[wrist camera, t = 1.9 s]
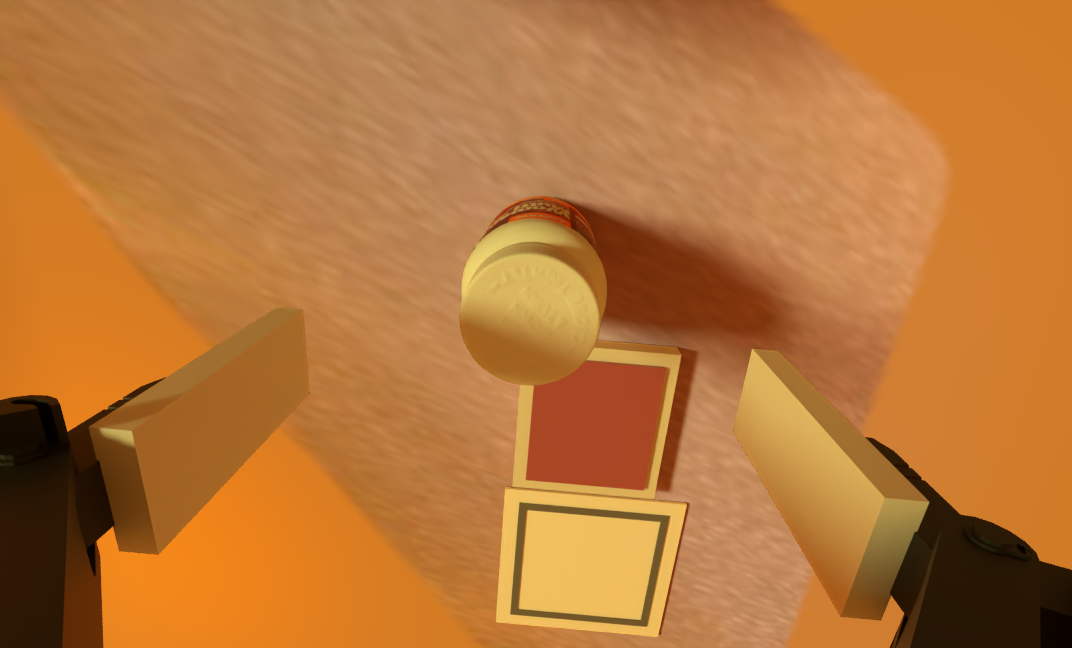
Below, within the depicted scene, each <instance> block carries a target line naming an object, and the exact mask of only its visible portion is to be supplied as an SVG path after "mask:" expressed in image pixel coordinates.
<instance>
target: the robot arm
mask: <svg viewBox="0 0 1072 648" xmlns="http://www.w3.org/2000/svg"><path fill="white" fill-rule="evenodd" d="M309 394H310V392H309V379H308V366H307V353H306V341H305V328H304V315H303V310H302V309H291V308H279V307H277V308H275V309H274V310H272V311H270V312H269V313H267V314H266V315H264V316H263V317H261V318H259V319H258V320H256V321H255V322H253V323H252V324H250V325H248V326H247V327H245V328H244V329H242V330H240V331H239V332H237V333H236V334H234V335H233V336H231V337H229V338H228V339H226V340H225V341H223V342H222V343H220V344H218V345H217V346H215V347H214V348H212V349H211V350H209V351H207V352H206V353H204V354H203V355H201V356H200V357H198V358H196V359H195V360H193V361H192V362H190V363H189V364H187V365H185V366H184V367H182V368H181V369H179V370H177V371H176V372H174V373H173V374H171V375H170V376H168V377H165V378H163V379H160V380H157V381H154V382H152V383H149V384H146V385H144V386H141V387H140V388H138V389H136V390H135V391H133V392H132V393H130V394H129V395H127V396H125V397H123V400H119V401H117V402H115V403H114V404H112V405H110V406H109V407H108V409H107V410H102V411H101V412H99V413H98V414H96V415H94V416H93V417H91V418H89V419H88V420H86V421H85V422H83V423H81V424H80V425H78V426H77V427H75V428H73V429H72V430H70V431H68V432H67V429H66V425H65V421H64V418H63V414H62V410H61V406H60V404H59V402H58V400H57V399H56V398H53V397H50V396H42V395H29V396H20V397H12V398H8V399H4V400H0V648H103V626H102V598H101V597H102V596H101V570H100V569H101V567H100V554H99V550H98V547H97V543H96V541H97V540H98V539H99V538H100V537H101V536H102V535H104V534H105V533H106V532H107V531H108V530H109V529H110V528H111V527H113V528H114V532H115V536H116V540H117V544H118V548H119V551H124V552H136V553H146V554H157V555H158V554H159V553H160V552H161V551H162V550H163V549H164V548H165V547H166V546H167V545H168V544H169V543H170V542H171V541H172V540H173V539H174V538H175V537H176V535H177V534H178V533H179V532H180V531H181V530H182V529H183V528H184V527H185V526H186V525H187V524H188V523H189V522H190V521H191V519H192V518H193V517H194V516H195V515H196V514H197V513H198V512H199V511H200V510H201V509H202V508H203V507H204V506H205V504H206V503H207V502H208V501H209V500H210V499H211V498H212V497H213V496H214V495H215V494H216V493H217V491H219V490H220V488H221V487H222V486H223V485H224V484H225V483H226V482H227V481H228V480H229V479H230V478H231V477H232V476H233V475H234V473H236V471H237V470H238V469H239V468H240V467H241V466H242V465H243V464H244V463H245V462H246V461H247V460H248V459H249V458H250V457H251V455H252V454H253V453H254V452H255V451H256V450H257V449H258V448H259V447H260V446H261V445H262V444H263V443H264V442H265V440H266V439H267V438H268V437H269V436H270V435H271V434H272V433H273V432H274V431H275V430H276V429H277V428H278V427H279V426H280V425H281V424H282V422H283V421H284V420H285V419H286V418H287V417H288V416H289V415H290V414H291V413H292V412H293V411H294V410H295V409H296V408H297V406H298V405H299V404H300V403H301V402H302V401H303V400H304V399H305V398H306V397H307V396H308V395H309ZM733 432H734V434H735V436H736V437H737V439H738V441H739V443H740V444H741V446H742V448H743V449H744V451H745V453H746V455H747V456H748V458H749V460H750V462H751V463H752V465H753V467H754V468H755V470H756V472H757V474H758V475H759V477H760V479H761V480H762V482H763V484H764V486H765V487H766V489H767V491H768V493H769V494H770V496H771V498H772V499H773V501H774V503H775V505H776V506H777V508H778V510H779V511H780V513H781V515H782V517H783V518H784V520H785V522H786V524H787V525H788V527H789V529H790V530H791V532H792V534H793V536H794V537H795V539H796V541H797V542H798V544H799V546H800V548H801V549H802V551H803V553H804V555H805V556H806V558H807V560H808V561H809V563H810V565H811V567H812V568H813V570H814V572H815V573H816V575H817V577H818V578H819V580H820V582H821V584H822V586H823V587H824V589H825V591H826V592H827V594H828V596H829V598H830V599H831V601H832V603H833V604H834V606H835V608H836V609H837V611H838V613H839V615H840V616H841V617H849V618H860V619H872V620H881V619H882V617H883V614H884V612H885V609H886V607H887V604H888V602H889V599H890V597H891V595H892V597H893V598H894V600H895V601H896V602H897V604H898V605H899V607H900V608H901V609H902V611H903V612H904V616H903V618H902V621H901V623H900V626H899V628H898V630H897V632H896V634H895V637H894V639H893V642H892V644H891V646H890V648H1072V570H1070V569H1066V568H1063V567H1059V566H1055V565H1052V564H1049V563H1045V562H1042V561H1039V558H1038V556H1037V553H1036V552H1035V551H1034V550H1033V549H1032V548H1031V547H1030V546H1029V545H1028V544H1027V543H1026V542H1025V541H1023V540H1022V539H1020V538H1019V537H1017V536H1016V535H1014V534H1013V533H1012V532H1010V531H1008V530H1006V529H1004V528H1002V527H1000V526H998V525H995V524H994V523H991V522H988V521H985V520H982V519H979V518H976V517H972V516H965V515H960V514H959V513H958V512H957V511H956V510H955V509H954V508H953V507H952V506H951V505H950V504H949V503H948V502H947V501H946V500H944V499H943V498H942V497H941V496H940V495H939V494H938V493H937V492H936V491H935V490H934V489H933V488H932V487H931V486H930V485H929V484H928V483H926V481H924V480H921V477H920V476H919V475H918V474H917V473H916V472H915V471H914V470H913V469H912V468H909V466H908V464H907V463H906V462H905V461H904V460H903V459H902V458H901V457H899V456H898V455H897V454H896V453H895V452H894V451H893V450H891V449H890V448H888V447H886V446H885V445H883V444H881V443H879V442H878V441H876V440H875V439H873V438H867V437H864V436H863V435H862V434H861V433H860V432H859V431H858V430H857V429H856V428H855V427H854V426H853V425H852V424H851V423H850V422H849V421H848V420H847V419H846V418H845V417H844V416H843V415H842V414H841V413H840V412H839V411H838V410H837V409H836V408H835V407H834V406H833V405H832V404H831V403H830V402H829V401H828V400H827V399H826V398H825V397H824V396H823V395H822V394H821V393H820V392H819V391H818V390H817V389H816V388H815V387H814V386H813V385H812V384H811V383H810V382H809V381H808V380H807V379H806V378H805V377H804V376H803V375H802V374H801V373H800V372H799V371H798V370H797V369H796V368H795V367H794V366H793V365H792V364H791V363H790V362H789V361H788V360H787V359H786V358H785V357H784V356H783V355H782V354H781V353H780V352H779V351H775V350H763V349H752V352H751V356H750V360H749V364H748V369H747V373H746V377H745V381H744V385H743V390H742V394H741V398H740V402H739V406H738V410H737V415H736V419H735V423H734V427H733Z"/></svg>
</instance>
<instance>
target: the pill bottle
mask: <svg viewBox="0 0 1072 648" xmlns="http://www.w3.org/2000/svg"><path fill="white" fill-rule="evenodd" d="M606 301H607V278H606V275H605V271H604V267H603V264H602V261H601V258H600V255H599V251H598V248H597V244H596V241H595V238H594V235H593V232H592V230H591V228H590V226H589V224H588V223H587V221H586V219H585V218H584V217H583V216H582V215H581V213H580V212H579V211H577V210H576V209H575V208H574V207H572V206H571V205H569V204H568V203H566V202H564V201H562V200H559V199H556V198H552V197H547V196H534V197H527V198H524V199H521V200H518V201H516V202H514V203H512V204H511V205H509V206H507V207H506V208H505V209H504V210H502V211H501V212H500V213H499V214H498V216H497V217H496V218H495V219H494V221H493V222H492V223H491V225H490V226H489V228H488V229H487V231H486V232H485V234H484V235H483V237H482V238H481V240H480V241H479V243H478V244H477V245H476V247H475V248H474V249H473V251H472V253H471V255H470V257H469V259H468V261H467V264H466V266H465V269H464V273H463V278H462V302H461V306H460V316H459V317H460V328H461V333H462V337H463V340H464V343H465V345H466V347H467V349H468V350H469V352H470V354H471V355H472V357H473V358H474V359H475V360H476V362H477V363H478V364H479V365H480V366H481V367H483V368H484V369H485V370H486V371H488V372H489V373H491V374H492V375H494V376H496V377H497V378H500V379H502V380H504V381H507V382H510V383H514V384H519V385H529V386H534V385H543V384H548V383H551V382H555V381H558V380H560V379H562V378H564V377H566V376H568V375H570V374H571V373H573V372H574V371H575V370H576V369H578V368H579V367H580V366H581V365H582V364H583V363H584V362H585V361H586V359H587V358H588V357H589V355H590V354H591V352H592V350H593V348H594V346H595V344H596V342H597V339H598V336H599V331H600V321H601V319H602V317H603V314H604V311H605V307H606Z"/></svg>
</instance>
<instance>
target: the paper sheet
mask: <svg viewBox="0 0 1072 648" xmlns="http://www.w3.org/2000/svg"><path fill="white" fill-rule="evenodd" d="M686 507H687V504H686V503H683V502H672V501H661V500H649V499H638V498H627V497H616V496H605V495H593V494H582V493H571V492H560V491H549V490H537V489H526V488H515V487H505V499H504V514H503V528H502V542H501V557H500V571H499V585H498V600H497V614H496V622H501V623H512V624H523V625H534V626H545V627H555V628H566V629H577V630H588V631H599V632H610V633H621V634H632V635H643V636H654V637H658V634H659V630H660V625H661V621H662V616H663V611H664V607H665V602H666V598H667V593H668V589H669V584H670V580H671V575H672V570H673V566H674V561H675V557H676V552H677V548H678V543H679V539H680V534H681V529H682V525H683V520H684V516H685V511H686Z"/></svg>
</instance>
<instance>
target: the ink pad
mask: <svg viewBox="0 0 1072 648" xmlns="http://www.w3.org/2000/svg"><path fill="white" fill-rule="evenodd" d="M680 360H681V353H680V352H679V350H678V348H677V347H672V346H660V345H649V344H637V343H626V342H614V341H603V340H597V342H596V344H595V346H594V348H593V350H592V352H591V354H590V355H589V357H588V358H587V359H586V361H585V362H584V363H583V364H582V365H581V366H580V367H579V368H578V369H576V370H575V371H574V372H573V373H571V374H570V375H568V376H566V377H564V378H562V379H560V380H558V381H555V382H551V383H548V384H543V385H534V386H529V385H520V394H519V407H518V420H517V434H516V447H515V460H514V473H513V487H524V488H536V489H547V490H558V491H569V492H580V493H592V494H603V495H614V496H625V497H636V498H648V499H654V496H655V491H656V486H657V480H658V475H659V470H660V465H661V460H662V454H663V449H664V444H665V439H666V434H667V428H668V423H669V418H670V413H671V407H672V402H673V397H674V392H675V387H676V381H677V376H678V371H679V366H680Z"/></svg>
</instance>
